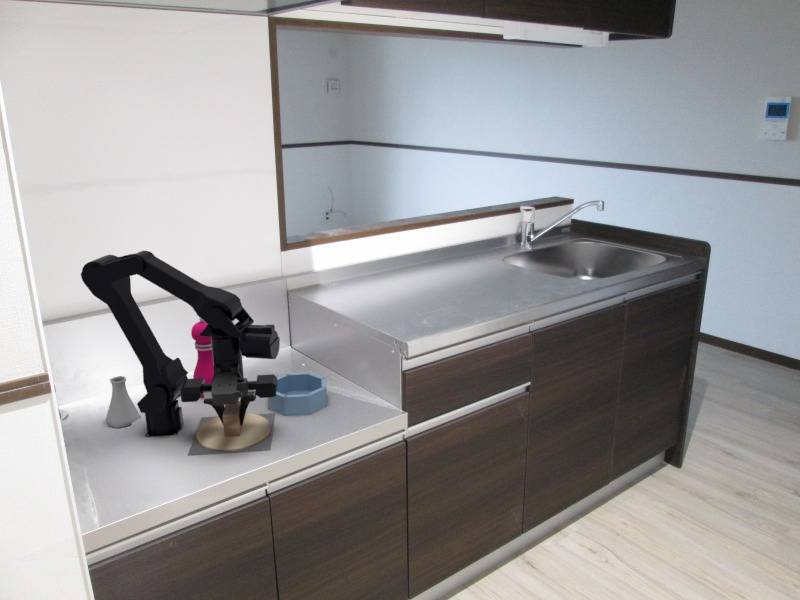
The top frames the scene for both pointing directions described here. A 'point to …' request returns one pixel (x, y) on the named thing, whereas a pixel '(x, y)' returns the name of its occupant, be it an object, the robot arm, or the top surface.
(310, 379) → the bowl
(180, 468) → the top surface
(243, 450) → the mat
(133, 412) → the flask
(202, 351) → the pepper mill
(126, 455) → the top surface
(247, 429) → the lid
